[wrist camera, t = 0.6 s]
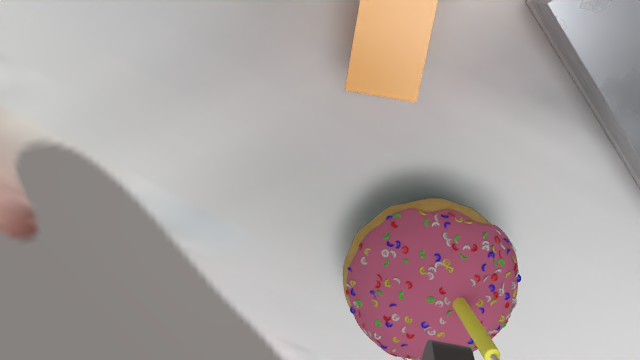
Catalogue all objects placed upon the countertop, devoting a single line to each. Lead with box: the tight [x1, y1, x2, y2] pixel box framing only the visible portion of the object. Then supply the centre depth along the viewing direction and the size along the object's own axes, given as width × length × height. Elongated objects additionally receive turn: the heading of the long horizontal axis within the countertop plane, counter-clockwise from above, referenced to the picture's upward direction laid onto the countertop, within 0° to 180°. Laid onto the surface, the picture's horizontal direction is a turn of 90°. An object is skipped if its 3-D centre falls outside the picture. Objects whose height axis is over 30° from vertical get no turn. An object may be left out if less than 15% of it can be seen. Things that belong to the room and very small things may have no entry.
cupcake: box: [343, 198, 521, 360], centre depth 29 cm, size 9×8×12 cm
